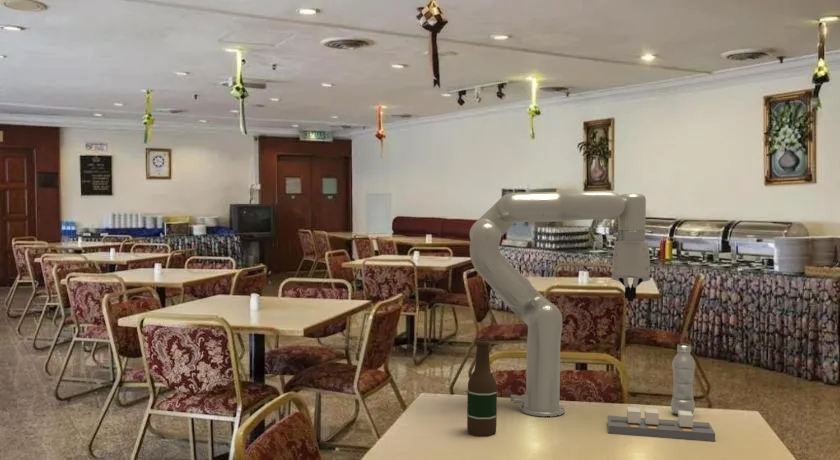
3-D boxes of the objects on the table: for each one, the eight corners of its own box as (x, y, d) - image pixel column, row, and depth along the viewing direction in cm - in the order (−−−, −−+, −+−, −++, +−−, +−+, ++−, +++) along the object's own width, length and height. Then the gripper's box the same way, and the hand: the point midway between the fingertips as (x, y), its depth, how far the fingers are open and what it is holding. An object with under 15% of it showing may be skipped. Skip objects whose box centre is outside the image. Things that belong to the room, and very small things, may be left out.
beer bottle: (499, 430, 194) (501, 338, 193) (492, 438, 187) (494, 343, 186) (470, 426, 196) (472, 336, 196) (462, 435, 189) (464, 341, 189)
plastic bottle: (691, 412, 214) (692, 343, 213) (697, 418, 207) (699, 347, 207) (668, 411, 214) (669, 342, 214) (673, 417, 208) (675, 346, 207)
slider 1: (627, 422, 194) (628, 411, 194) (627, 418, 198) (627, 406, 198) (640, 423, 193) (640, 412, 193) (639, 419, 197) (639, 407, 197)
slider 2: (645, 423, 193) (645, 412, 193) (644, 419, 197) (644, 408, 197) (658, 424, 192) (658, 413, 192) (657, 420, 196) (657, 408, 196)
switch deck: (608, 433, 192) (608, 425, 192) (607, 422, 202) (607, 415, 202) (715, 441, 186) (715, 433, 186) (708, 430, 196) (709, 422, 196)
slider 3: (679, 426, 191) (680, 414, 191) (677, 421, 195) (678, 410, 195) (692, 427, 190) (693, 415, 190) (690, 422, 194) (690, 411, 194)
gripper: (604, 236, 210) (603, 301, 210) (660, 237, 207) (658, 303, 207) (604, 236, 217) (603, 298, 218) (657, 237, 214) (656, 300, 214)
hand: (630, 300), depth 212 cm, fingers closed
